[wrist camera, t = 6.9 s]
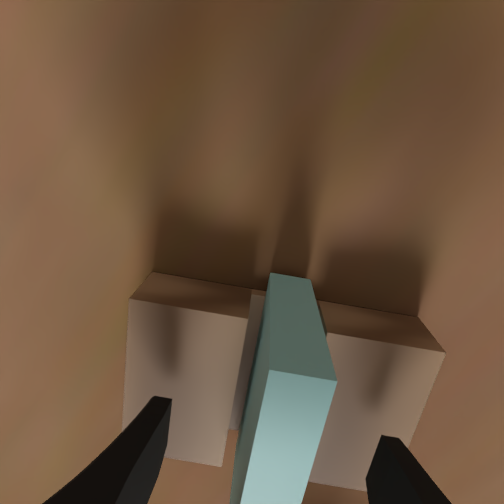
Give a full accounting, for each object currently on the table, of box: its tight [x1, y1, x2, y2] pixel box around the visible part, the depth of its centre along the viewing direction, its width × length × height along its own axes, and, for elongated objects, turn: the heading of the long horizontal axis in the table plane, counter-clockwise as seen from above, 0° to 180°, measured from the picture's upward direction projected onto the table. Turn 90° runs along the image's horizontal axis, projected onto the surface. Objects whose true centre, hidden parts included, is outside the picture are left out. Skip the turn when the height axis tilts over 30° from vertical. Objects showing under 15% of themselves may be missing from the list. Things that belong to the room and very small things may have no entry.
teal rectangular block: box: [230, 273, 337, 504], centre depth 13 cm, size 2×9×6 cm, turn 170°
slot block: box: [122, 272, 446, 492], centre depth 15 cm, size 11×7×2 cm, turn 81°
